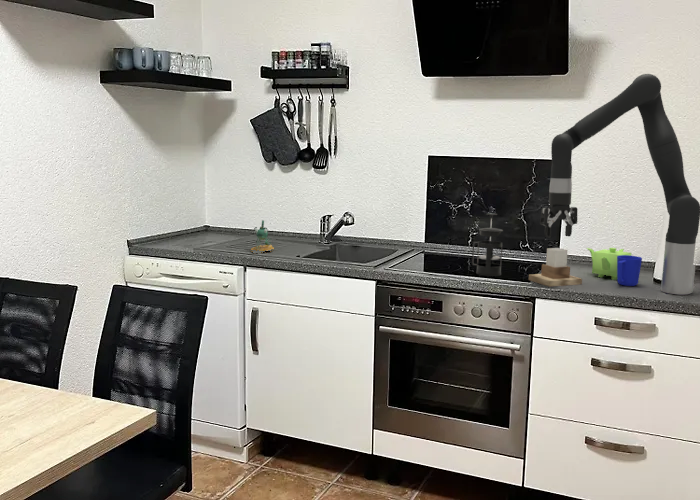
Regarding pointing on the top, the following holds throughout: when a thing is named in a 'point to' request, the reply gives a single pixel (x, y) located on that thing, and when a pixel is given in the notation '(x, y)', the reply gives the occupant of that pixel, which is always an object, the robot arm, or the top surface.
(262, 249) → the frog figurine
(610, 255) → the kettle
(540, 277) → the board
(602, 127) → the robot arm
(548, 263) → the cube
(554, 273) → the base block
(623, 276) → the mug
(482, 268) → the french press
